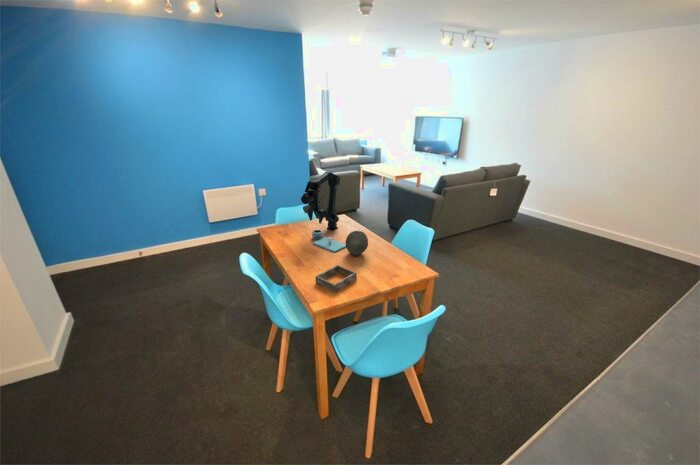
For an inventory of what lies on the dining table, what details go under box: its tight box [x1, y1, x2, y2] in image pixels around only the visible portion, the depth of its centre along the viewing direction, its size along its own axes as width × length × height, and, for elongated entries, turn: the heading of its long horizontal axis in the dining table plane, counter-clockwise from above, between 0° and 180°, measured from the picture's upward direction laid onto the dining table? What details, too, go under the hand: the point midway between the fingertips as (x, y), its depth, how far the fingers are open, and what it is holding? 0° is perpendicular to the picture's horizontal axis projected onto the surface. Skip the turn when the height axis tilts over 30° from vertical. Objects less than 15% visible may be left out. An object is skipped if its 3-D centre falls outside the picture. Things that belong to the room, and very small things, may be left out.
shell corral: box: [315, 264, 358, 293], centre depth 154 cm, size 16×14×4 cm
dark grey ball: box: [345, 230, 369, 256], centre depth 181 cm, size 14×14×15 cm
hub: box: [311, 229, 324, 241], centre depth 207 cm, size 7×7×5 cm
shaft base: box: [312, 236, 347, 253], centre depth 196 cm, size 12×20×5 cm, turn 49°
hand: (315, 222), depth 204 cm, fingers open, 9 cm apart
